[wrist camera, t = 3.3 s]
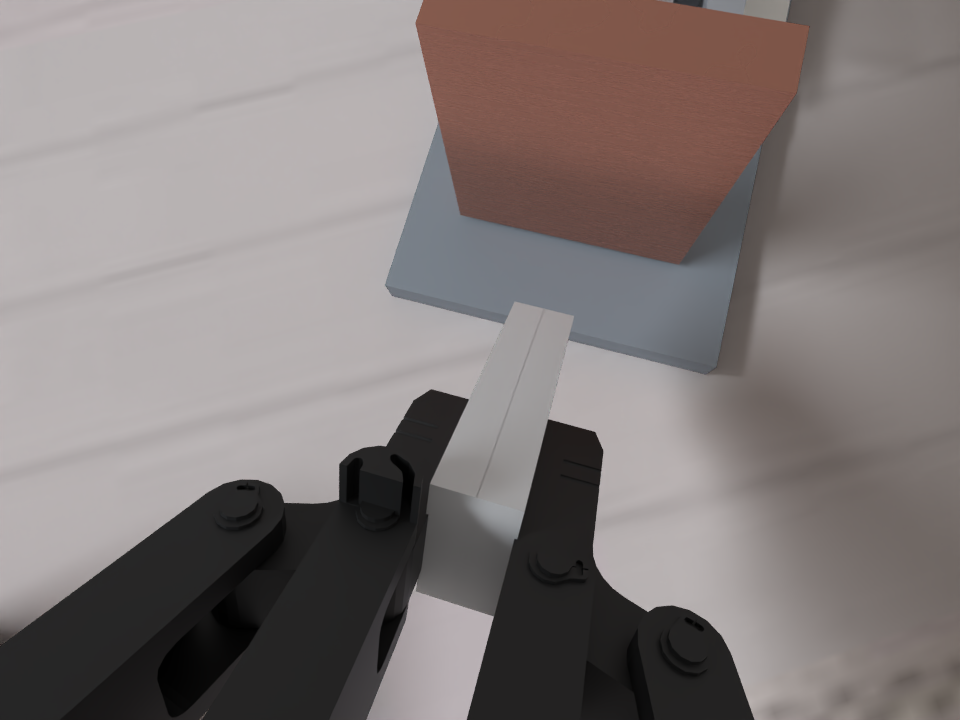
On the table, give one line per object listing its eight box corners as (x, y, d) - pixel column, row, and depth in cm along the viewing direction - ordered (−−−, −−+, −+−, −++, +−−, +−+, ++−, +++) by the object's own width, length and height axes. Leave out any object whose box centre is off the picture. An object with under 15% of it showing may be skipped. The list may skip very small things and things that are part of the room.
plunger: (728, 275, 20) (886, 109, 11) (460, 214, 21) (415, 23, 13) (785, -1, 22) (955, -320, 13) (539, -42, 23) (548, -357, 15)
